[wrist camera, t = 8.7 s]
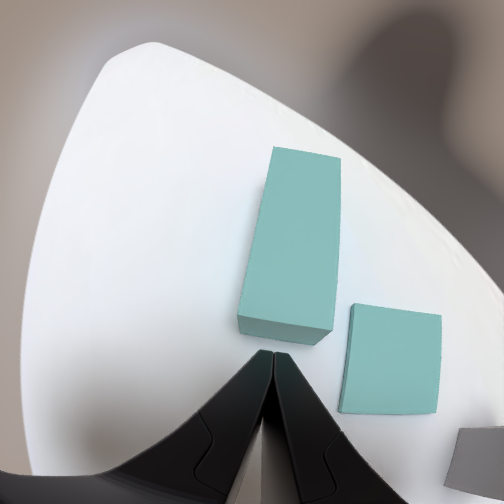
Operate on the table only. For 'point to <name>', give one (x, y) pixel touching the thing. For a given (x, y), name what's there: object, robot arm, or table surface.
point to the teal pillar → (294, 250)
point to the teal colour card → (391, 362)
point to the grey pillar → (478, 462)
